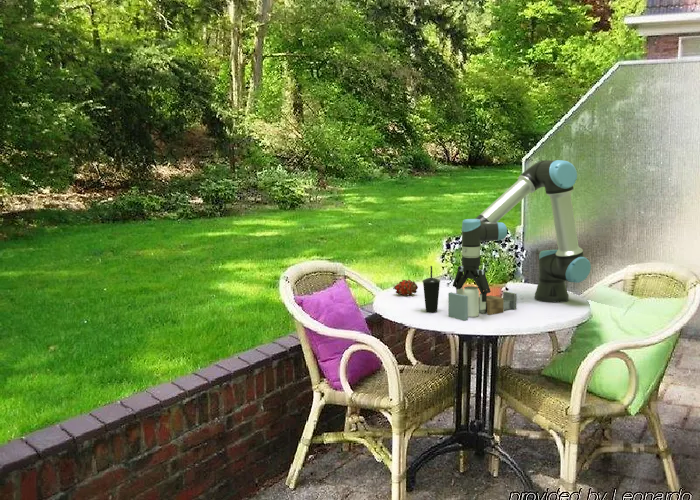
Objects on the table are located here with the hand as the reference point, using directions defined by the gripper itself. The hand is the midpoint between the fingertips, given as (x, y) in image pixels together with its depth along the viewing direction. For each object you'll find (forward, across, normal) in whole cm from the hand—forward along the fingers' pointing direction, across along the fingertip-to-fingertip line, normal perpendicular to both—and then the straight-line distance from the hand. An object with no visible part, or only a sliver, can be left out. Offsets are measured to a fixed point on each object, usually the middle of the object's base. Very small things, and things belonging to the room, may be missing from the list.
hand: (471, 306), depth 293 cm
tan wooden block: (+4, 0, +11) cm, 12 cm away
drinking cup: (+4, -16, -8) cm, 18 cm away
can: (+4, 0, 0) cm, 4 cm away
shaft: (+4, 0, +15) cm, 15 cm away
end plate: (+4, 0, -7) cm, 8 cm away
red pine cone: (+4, -51, +5) cm, 51 cm away
